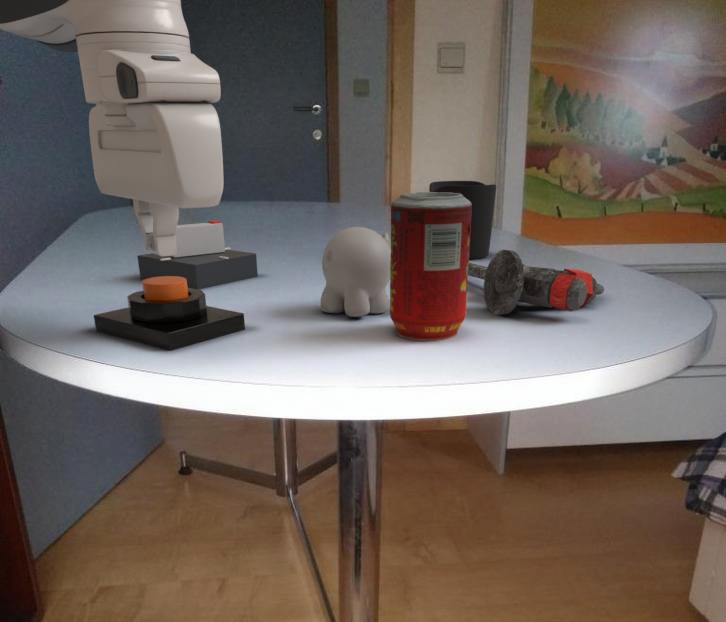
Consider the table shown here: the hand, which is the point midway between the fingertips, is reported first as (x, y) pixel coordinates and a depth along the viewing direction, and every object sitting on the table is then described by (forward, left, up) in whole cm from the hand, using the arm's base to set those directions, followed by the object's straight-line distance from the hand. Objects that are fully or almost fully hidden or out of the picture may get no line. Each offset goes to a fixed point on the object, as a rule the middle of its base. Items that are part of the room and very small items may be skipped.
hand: (161, 254), depth 65 cm
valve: (+20, +34, -7) cm, 40 cm away
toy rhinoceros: (+10, +19, -7) cm, 23 cm away
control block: (0, 0, -7) cm, 7 cm away
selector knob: (-18, +19, -4) cm, 27 cm away
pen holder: (0, +53, -7) cm, 54 cm away
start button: (0, 0, -4) cm, 4 cm away
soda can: (+20, +14, -7) cm, 25 cm away
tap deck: (-18, +19, -7) cm, 27 cm away
